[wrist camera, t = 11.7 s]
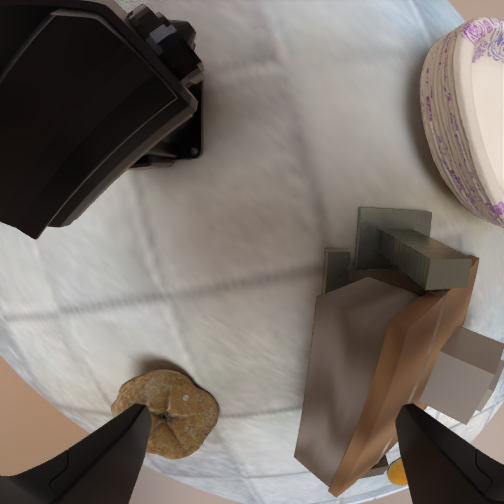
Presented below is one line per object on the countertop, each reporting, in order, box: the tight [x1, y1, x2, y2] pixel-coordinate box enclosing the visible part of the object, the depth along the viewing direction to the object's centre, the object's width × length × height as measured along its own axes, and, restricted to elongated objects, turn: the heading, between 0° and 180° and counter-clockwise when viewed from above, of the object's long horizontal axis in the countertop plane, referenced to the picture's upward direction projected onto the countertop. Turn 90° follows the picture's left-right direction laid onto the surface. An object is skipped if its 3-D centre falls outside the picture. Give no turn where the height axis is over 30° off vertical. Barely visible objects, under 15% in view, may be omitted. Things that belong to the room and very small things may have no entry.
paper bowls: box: [420, 17, 504, 228], centre depth 12 cm, size 15×15×8 cm
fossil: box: [111, 369, 218, 459], centre depth 22 cm, size 9×4×10 cm
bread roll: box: [387, 458, 408, 485], centre depth 26 cm, size 8×9×4 cm
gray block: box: [419, 326, 504, 425], centre depth 15 cm, size 5×5×6 cm
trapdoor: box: [294, 256, 479, 498], centre depth 18 cm, size 16×16×6 cm
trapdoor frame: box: [322, 207, 472, 479], centre depth 18 cm, size 23×8×8 cm, turn 0°
